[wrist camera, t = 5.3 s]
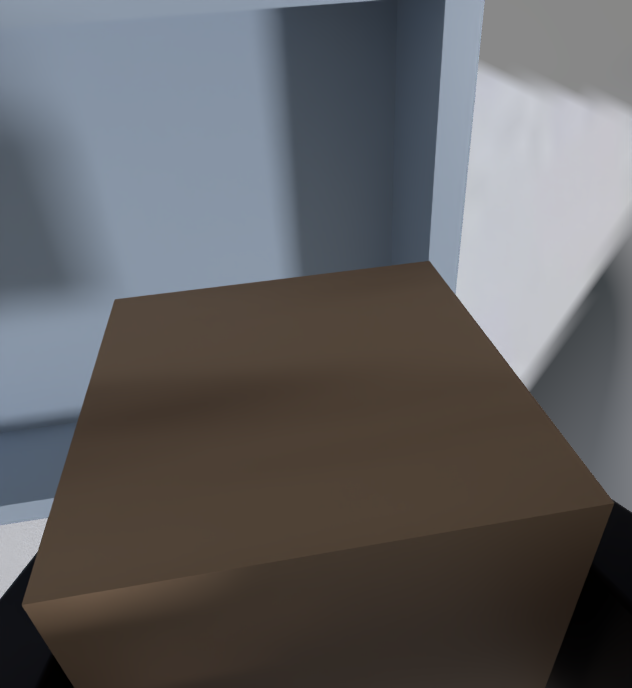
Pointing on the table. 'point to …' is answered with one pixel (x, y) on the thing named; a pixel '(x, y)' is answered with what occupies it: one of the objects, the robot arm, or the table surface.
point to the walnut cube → (312, 497)
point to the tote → (207, 171)
